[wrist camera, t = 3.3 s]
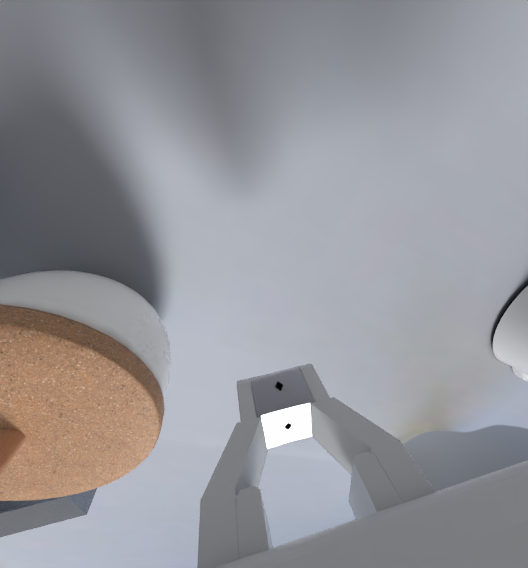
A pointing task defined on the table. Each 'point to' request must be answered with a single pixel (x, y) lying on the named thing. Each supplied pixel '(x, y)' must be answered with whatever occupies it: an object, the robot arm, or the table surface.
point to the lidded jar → (76, 382)
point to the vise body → (42, 511)
